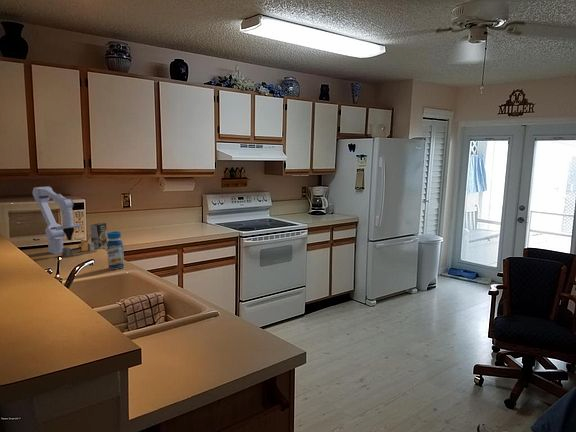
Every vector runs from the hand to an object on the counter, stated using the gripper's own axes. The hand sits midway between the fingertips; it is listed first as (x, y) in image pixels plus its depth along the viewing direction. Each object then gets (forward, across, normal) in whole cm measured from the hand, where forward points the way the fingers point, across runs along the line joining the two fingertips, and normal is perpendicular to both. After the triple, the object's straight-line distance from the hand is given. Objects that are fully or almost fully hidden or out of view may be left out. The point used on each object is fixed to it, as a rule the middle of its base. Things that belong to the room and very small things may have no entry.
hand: (69, 240), depth 272 cm
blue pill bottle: (+10, -1, -55) cm, 56 cm away
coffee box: (+10, +22, +5) cm, 25 cm away
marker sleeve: (+8, +7, -2) cm, 11 cm away
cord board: (+9, +4, -2) cm, 11 cm away
